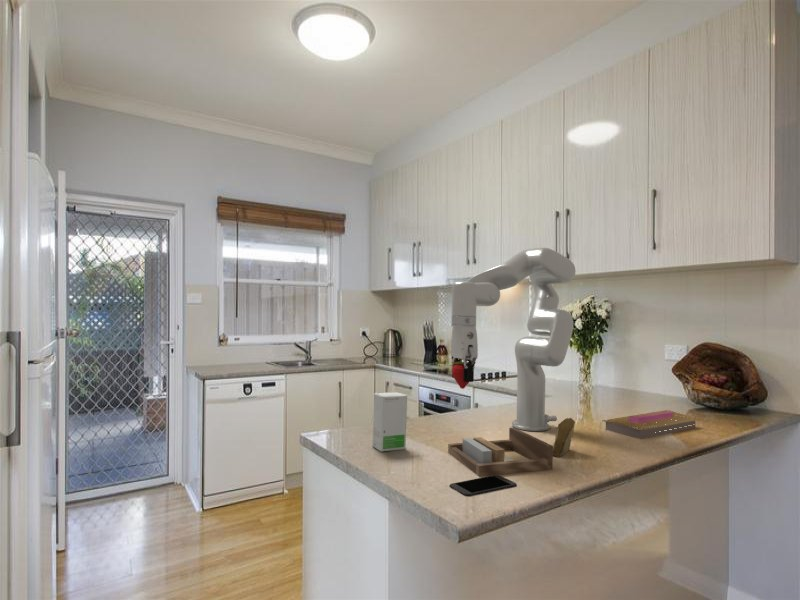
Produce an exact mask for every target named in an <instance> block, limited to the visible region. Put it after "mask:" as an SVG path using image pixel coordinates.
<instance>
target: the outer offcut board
mask: <svg viewBox="0 0 800 600" xmlns="http://www.w3.org/2000/svg"><path fill="white" fill-rule="evenodd" d="M462 443H463V451H462V452H463V453H465V454H466V455H468V456H469V457H470V458H472V459H473V460H475V461H476V462H477V463H479V464H481V463H492V451H491V450H490V449H488V448H486V447H485V446H483V445H481V444H480V443H478V442H477V441H475V440H473V438H471V437H469V438H468V437H467V438H462Z"/></svg>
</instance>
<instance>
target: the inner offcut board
mask: <svg viewBox="0 0 800 600" xmlns="http://www.w3.org/2000/svg"><path fill="white" fill-rule="evenodd" d="M472 439H473V440H475V441H477V442H478V443H480V444H481V445H483V446H485V447H486V448H488V449H490V450H491V451H492V463H493V462H505V451H506V450H504V449H502V448H500V447H499V446H497V445H495V444H493V443H491V442H489V441H490V440H487V439H485V438H484V437H482V436H480V437H473V438H472Z"/></svg>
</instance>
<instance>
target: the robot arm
mask: <svg viewBox="0 0 800 600" xmlns="http://www.w3.org/2000/svg"><path fill="white" fill-rule="evenodd" d="M576 272H577V271H576V267H575V264H574V262H573V261H572V260H571V259H569V258H568V257H566V256H565V255H563V254H561V253H559V252H557V251H556V250H554V249H551V248H548V247H538V248H537V247H536V248H529V249H523V250H520V251H518V252H517V253H516V254H515V255H513V256H512V257H510V258H509V259H507V260H506V261H504V262H502V263H501V264H500V265H497V266H494V267H493V268H490V269H488V270H485V271H483V272H480V273H478V274H475V275H473V276H471V278H468V279H467V280H466V281H456V282H454V283H453V284H452V288H451V321H450V322H451V323H450V324H451V327H452V332H451V341H450V355H451V365H452V366H451V368H452V367H453V366H454V365H457V364H454V363H456V362H464V366H465V368H463V381H464V382H469V383H474V380H475V378H474V375H475V365H476V362H477V359H478V357H479V353H478V351H479V349H478V333H477V307H492V306H495V305H496V304H497V303H498V302H499V301H500V299H501V291H502V290H503V291H504V290H506V289H510V288H513V287H515V286H517V285H518V284H520V283H521V282H522V281H523V280H525V279H526V278H528V277H529V280H530V281H531V285H532V286H533V290H534V299H533V302H532V306H531V310H530V313H529V316H528V319H527V325H526V326H527V331H528V332H530V334H532V335H535V336H523V337H521V338H519V339H518V340H517V341H516V343H515V346H514V354H515V360H516V361H515V362H516V369H517V370H516V371H517V373H516V374H517V378H516V384H517V385H516V419H515V420H512V422H511V426H512V428H513V427H514V428H516V429H518V430H520V431H527V432H544V431H549V429H550V424H549V422H556V421H558V418H557V416H556V415H549V414H546V375H545V371H544V370H543V367H542V366H545V367H552V368H553V367H559V366H560V365H562V364H563V362H564V360H566V359H565V358H566V356H567V352H568V349H569V346H570V345H569V344H570V341H571V338H572V335H573V331H574V330H573V329H574V319H573V316H572V314H571V313H570V312H569V311H568V310H565V309H559V308H558V306H559V302H560V297H559V294H558V293H557V290H556V289H555V288H554V286H553V284H555V285H556V284H567V283H570V282H572V281H573V280H574V278H575V276H576ZM544 336H545V337H544ZM467 362H468V363H467ZM451 378H453V379H454V377H453V374H452V373H451Z"/></svg>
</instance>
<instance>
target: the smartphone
mask: <svg viewBox="0 0 800 600" xmlns="http://www.w3.org/2000/svg"><path fill="white" fill-rule="evenodd" d="M517 485H518V484H517V482H515V481H512V480H510V479H508V478H506V477H504V476H501V475H500V474H497V475H487V476H482V477H479V478H472V479H467V480H464V481H457V482H453V483H452V482H451V483H450V484H449V488H450V489H452V490H453V491H456V492H457V493H459V494H460V495H462V496H464V497H473V496H477V495H483V494H488V493H492V492H496V491H497V492H498V491H502V490H506V489H512V488H514V487H515V488H516V487H517Z"/></svg>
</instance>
